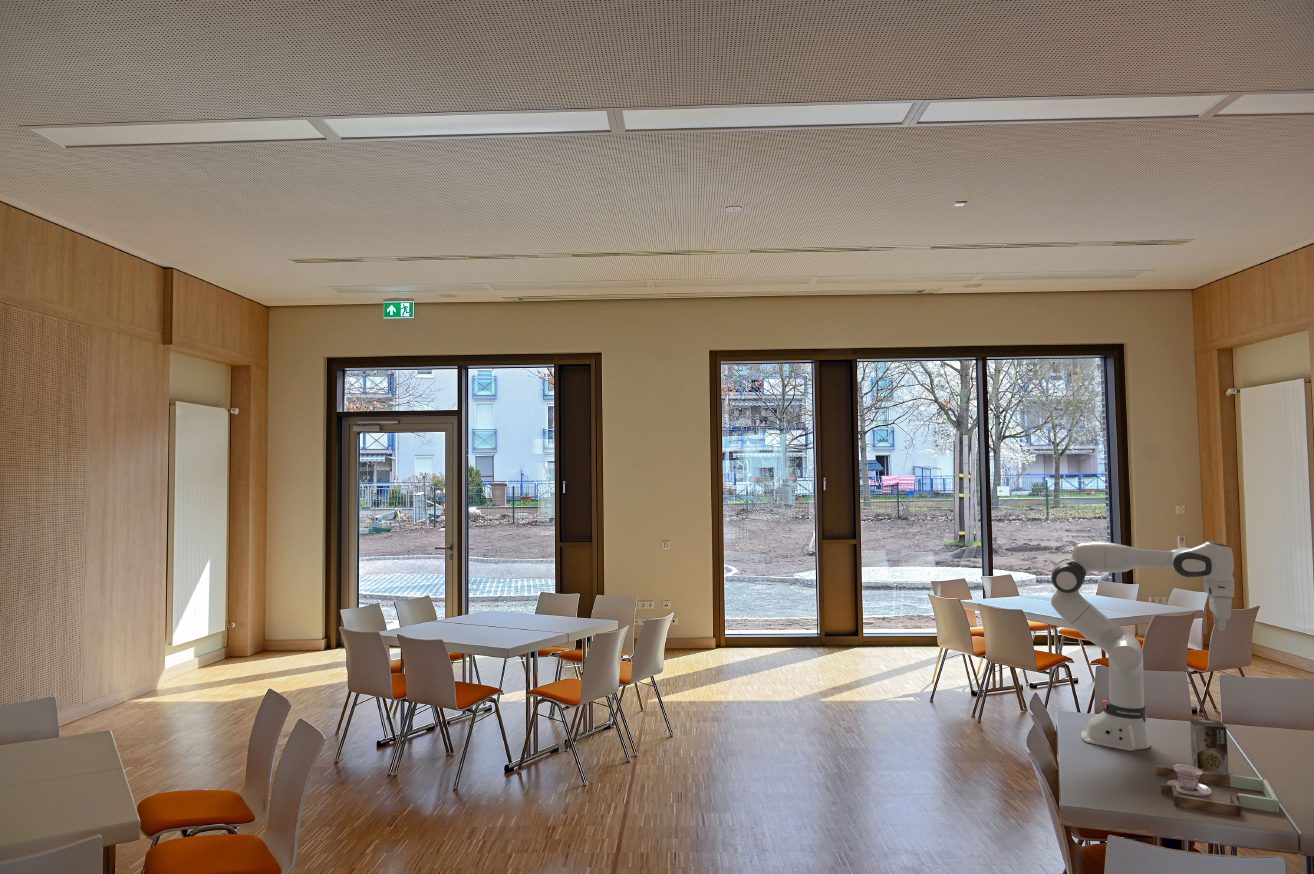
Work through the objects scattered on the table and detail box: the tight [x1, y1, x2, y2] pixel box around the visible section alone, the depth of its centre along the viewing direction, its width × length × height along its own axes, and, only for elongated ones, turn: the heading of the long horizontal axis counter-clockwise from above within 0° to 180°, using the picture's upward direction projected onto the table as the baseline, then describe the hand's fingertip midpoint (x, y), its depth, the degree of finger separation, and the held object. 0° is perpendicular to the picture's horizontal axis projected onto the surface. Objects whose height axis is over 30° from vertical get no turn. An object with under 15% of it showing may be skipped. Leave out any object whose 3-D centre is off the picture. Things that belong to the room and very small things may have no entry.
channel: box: [1156, 765, 1242, 817], centre depth 249 cm, size 20×25×3 cm
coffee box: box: [1189, 718, 1230, 776], centre depth 268 cm, size 9×6×16 cm
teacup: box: [1166, 763, 1213, 797], centre depth 254 cm, size 12×12×6 cm
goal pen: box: [1228, 774, 1280, 814], centre depth 246 cm, size 10×17×4 cm, turn 152°
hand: (1219, 627), depth 280 cm, fingers open, 8 cm apart
